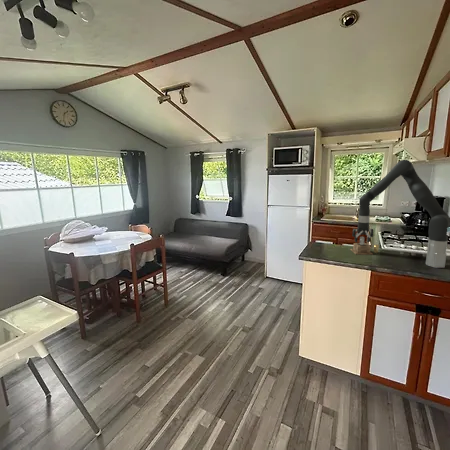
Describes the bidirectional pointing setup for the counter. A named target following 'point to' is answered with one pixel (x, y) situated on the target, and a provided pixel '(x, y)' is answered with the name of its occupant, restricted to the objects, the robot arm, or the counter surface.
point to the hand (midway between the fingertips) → (362, 242)
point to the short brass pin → (376, 248)
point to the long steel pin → (362, 241)
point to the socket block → (361, 249)
